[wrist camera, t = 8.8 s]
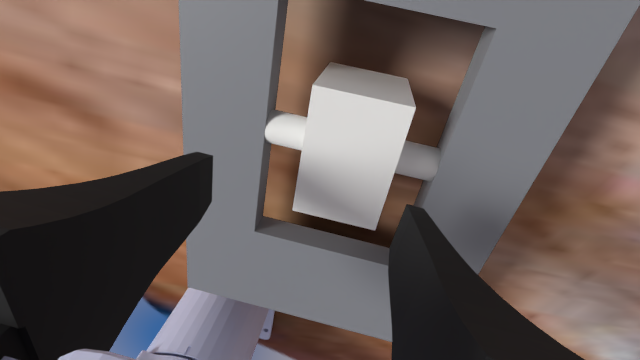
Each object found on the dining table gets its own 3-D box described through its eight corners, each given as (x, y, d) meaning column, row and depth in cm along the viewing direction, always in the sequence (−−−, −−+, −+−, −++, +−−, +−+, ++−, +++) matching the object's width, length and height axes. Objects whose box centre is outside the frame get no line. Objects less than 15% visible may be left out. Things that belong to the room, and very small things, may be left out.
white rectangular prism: (376, 179, 20) (375, 230, 15) (311, 163, 20) (292, 210, 16) (407, 78, 17) (416, 107, 12) (330, 61, 17) (312, 84, 13)
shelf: (420, 276, 26) (431, 352, 21) (228, 227, 27) (188, 287, 21) (607, -116, 14) (755, -189, 9) (249, -183, 15) (169, -290, 9)
